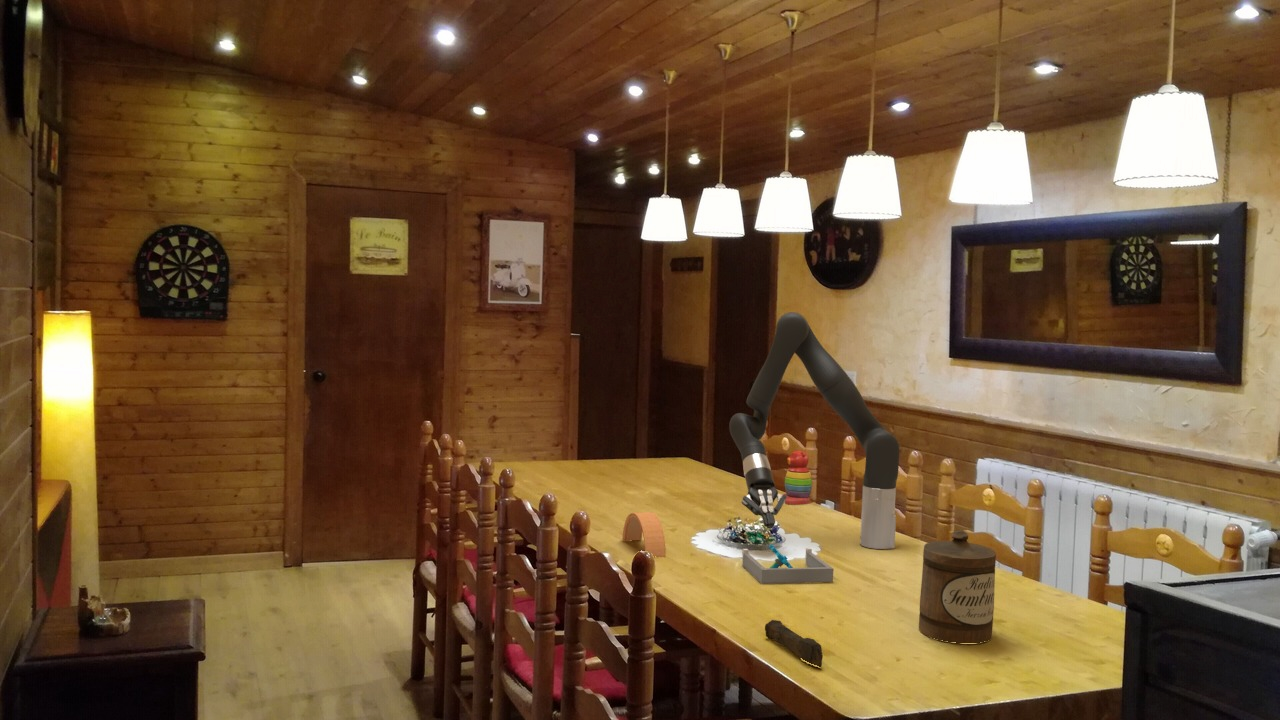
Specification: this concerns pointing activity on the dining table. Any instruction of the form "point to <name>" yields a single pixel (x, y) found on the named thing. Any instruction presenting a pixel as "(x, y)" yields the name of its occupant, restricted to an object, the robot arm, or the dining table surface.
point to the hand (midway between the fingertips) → (770, 526)
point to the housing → (789, 570)
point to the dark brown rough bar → (795, 642)
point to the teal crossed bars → (779, 559)
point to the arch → (646, 532)
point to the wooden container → (957, 590)
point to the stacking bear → (798, 479)
